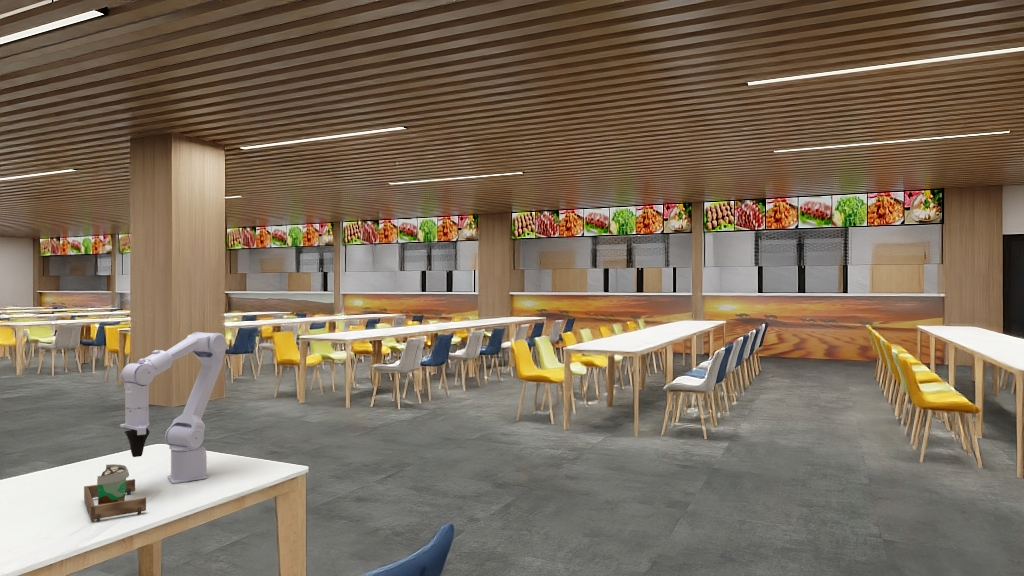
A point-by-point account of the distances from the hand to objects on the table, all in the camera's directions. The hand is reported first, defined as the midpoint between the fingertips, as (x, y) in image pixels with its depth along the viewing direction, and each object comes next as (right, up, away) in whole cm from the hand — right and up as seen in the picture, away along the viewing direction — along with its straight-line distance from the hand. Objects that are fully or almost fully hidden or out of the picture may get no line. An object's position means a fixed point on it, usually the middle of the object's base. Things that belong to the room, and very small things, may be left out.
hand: (137, 456), depth 193 cm
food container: (0, -11, -11) cm, 15 cm away
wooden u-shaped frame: (0, -11, -10) cm, 15 cm away
